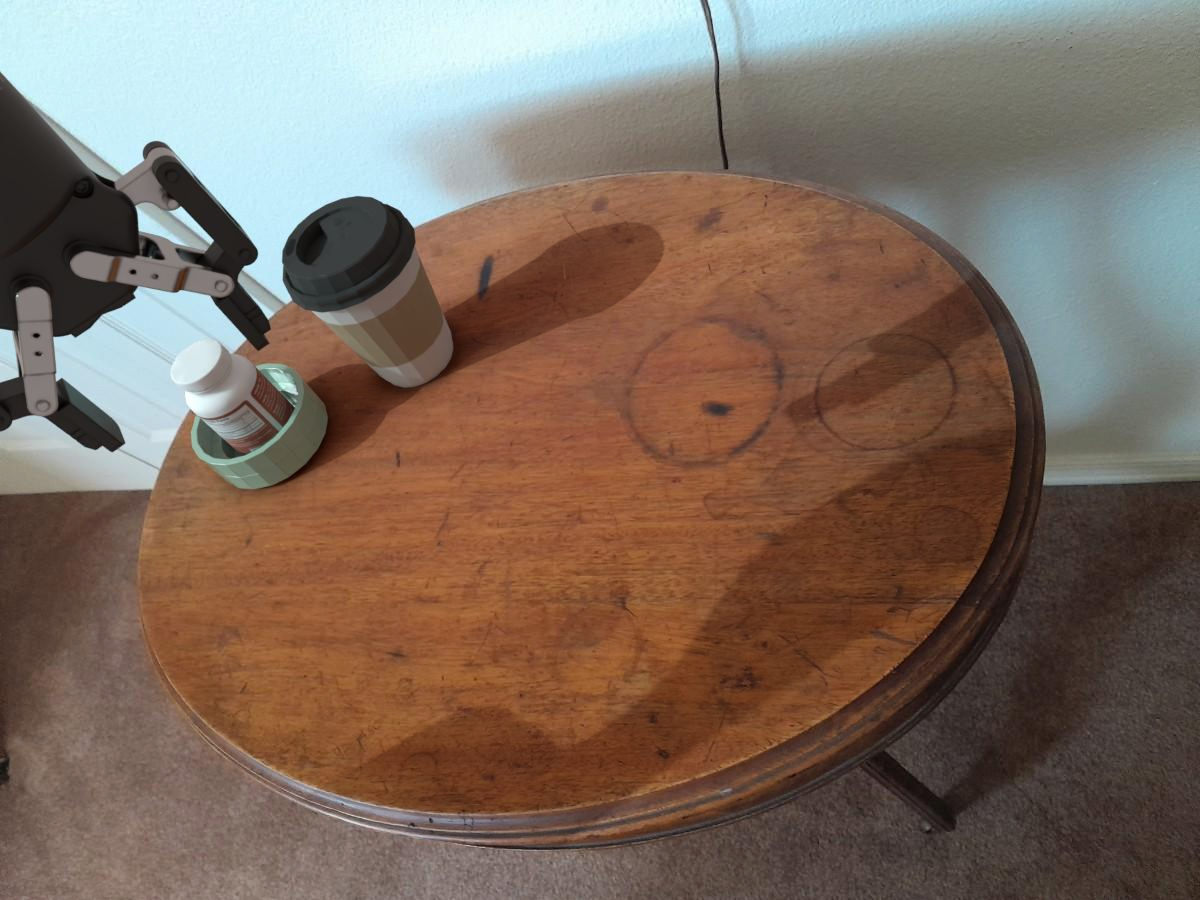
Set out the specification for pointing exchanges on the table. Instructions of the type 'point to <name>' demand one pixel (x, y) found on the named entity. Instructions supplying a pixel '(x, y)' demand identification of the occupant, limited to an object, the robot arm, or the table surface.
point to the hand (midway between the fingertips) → (188, 388)
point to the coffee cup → (369, 287)
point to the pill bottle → (230, 395)
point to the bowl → (279, 452)
